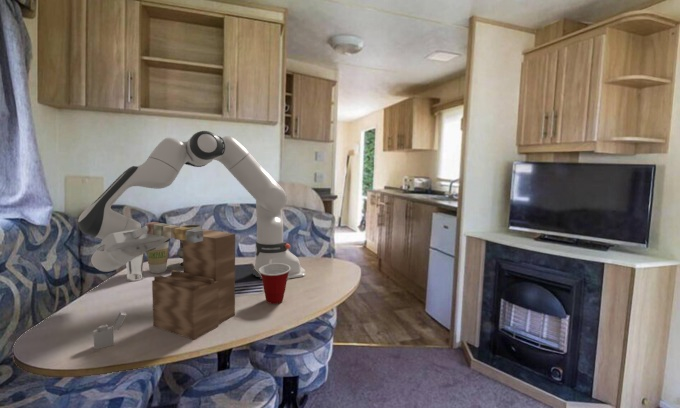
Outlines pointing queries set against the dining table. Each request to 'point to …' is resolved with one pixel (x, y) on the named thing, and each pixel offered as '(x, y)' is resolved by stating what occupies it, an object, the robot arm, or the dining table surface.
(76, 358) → the dining table surface
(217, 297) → the walnut display stand
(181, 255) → the apothecary jar
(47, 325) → the dining table surface
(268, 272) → the plastic cup
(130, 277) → the beer glass
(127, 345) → the dining table surface
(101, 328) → the lighter
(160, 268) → the coffee cup
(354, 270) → the dining table surface
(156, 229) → the bead bar
